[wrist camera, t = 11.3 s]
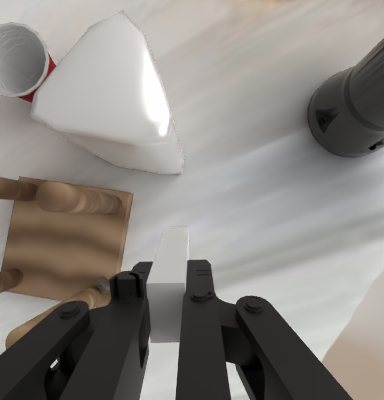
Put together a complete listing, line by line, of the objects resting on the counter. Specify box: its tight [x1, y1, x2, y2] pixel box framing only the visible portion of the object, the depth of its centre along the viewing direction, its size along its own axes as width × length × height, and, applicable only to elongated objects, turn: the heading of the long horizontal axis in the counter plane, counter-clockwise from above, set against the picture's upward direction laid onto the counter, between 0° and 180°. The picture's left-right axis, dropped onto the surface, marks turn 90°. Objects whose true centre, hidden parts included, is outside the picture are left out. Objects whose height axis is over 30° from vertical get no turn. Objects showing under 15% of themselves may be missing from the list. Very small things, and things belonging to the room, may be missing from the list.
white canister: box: [29, 10, 185, 175], centre depth 36 cm, size 15×14×22 cm
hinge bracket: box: [94, 276, 110, 293], centre depth 42 cm, size 2×5×3 cm, turn 136°
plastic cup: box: [0, 22, 56, 102], centre depth 43 cm, size 11×11×12 cm
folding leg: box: [6, 286, 102, 350], centre depth 33 cm, size 3×3×16 cm
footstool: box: [0, 176, 133, 307], centre depth 36 cm, size 20×20×21 cm
